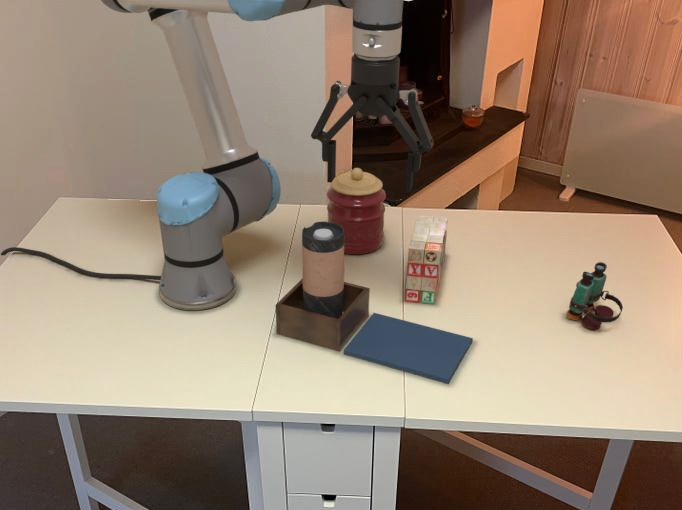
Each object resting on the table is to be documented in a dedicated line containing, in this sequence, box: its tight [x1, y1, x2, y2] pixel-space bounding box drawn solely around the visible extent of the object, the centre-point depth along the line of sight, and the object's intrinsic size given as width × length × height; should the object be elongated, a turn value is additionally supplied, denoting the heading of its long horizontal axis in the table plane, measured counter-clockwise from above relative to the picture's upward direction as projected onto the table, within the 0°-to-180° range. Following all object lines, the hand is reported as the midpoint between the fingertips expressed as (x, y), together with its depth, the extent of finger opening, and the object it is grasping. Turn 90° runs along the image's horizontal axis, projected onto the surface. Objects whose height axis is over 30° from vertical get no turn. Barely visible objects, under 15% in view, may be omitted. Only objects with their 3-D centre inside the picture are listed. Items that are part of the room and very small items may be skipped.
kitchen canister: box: [326, 167, 387, 255], centre depth 167 cm, size 13×13×18 cm
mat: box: [343, 312, 474, 385], centre depth 139 cm, size 20×14×1 cm
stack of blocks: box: [404, 214, 449, 305], centre depth 156 cm, size 21×6×12 cm, turn 168°
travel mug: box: [301, 221, 345, 319], centre depth 139 cm, size 8×8×20 cm
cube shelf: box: [275, 277, 371, 352], centre depth 143 cm, size 13×13×6 cm
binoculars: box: [565, 261, 624, 331], centre depth 144 cm, size 9×11×10 cm
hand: (369, 184), depth 129 cm, fingers open, 13 cm apart
